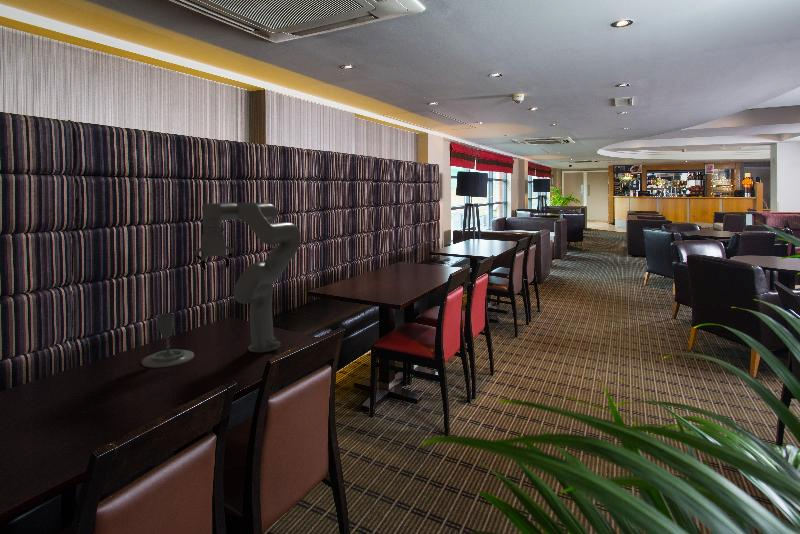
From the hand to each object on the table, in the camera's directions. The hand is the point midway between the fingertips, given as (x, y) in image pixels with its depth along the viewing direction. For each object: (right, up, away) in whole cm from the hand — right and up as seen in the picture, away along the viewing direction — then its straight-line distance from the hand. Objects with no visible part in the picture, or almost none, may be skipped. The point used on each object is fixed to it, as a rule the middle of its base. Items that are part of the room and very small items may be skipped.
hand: (215, 268), depth 230 cm
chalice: (-13, -37, -19) cm, 44 cm away
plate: (-13, -38, -19) cm, 44 cm away
